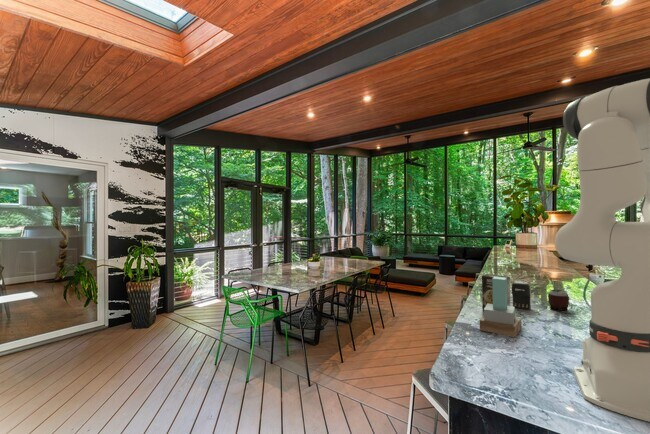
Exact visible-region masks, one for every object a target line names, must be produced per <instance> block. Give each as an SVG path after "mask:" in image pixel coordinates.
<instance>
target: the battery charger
mask: <svg viewBox="0 0 650 434" xmlns="http://www.w3.org/2000/svg"><path fill="white" fill-rule="evenodd" d="M531 287H532V286H531V285H530V283H528V282H522V281H514V282H512V283H511V294H512V295H511V296H512V306H513V307H515V309H519V310H520V309H521V310H531V309H532V305H531V303H532V302H531V301H532V300H531V299H532V292H531V291H532V290H531V289H532V288H531Z"/></svg>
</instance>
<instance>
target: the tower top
mask: <svg viewBox="0 0 650 434" xmlns="http://www.w3.org/2000/svg"><path fill="white" fill-rule="evenodd" d="M483 317H484V320H485V321H491V322H498V323H504V324H511V325H514V321H515V318H516V308H515V307H513V305H510V306H507V309H506V311H505V310H499V309H493V304H489V303H487V305H486V306H485V308H484V314H483Z"/></svg>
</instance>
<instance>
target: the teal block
mask: <svg viewBox="0 0 650 434" xmlns="http://www.w3.org/2000/svg"><path fill="white" fill-rule="evenodd" d="M492 285H493V309H499V310H505V311H506V309H507V278H504V277H493V278H492Z"/></svg>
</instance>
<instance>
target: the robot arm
mask: <svg viewBox="0 0 650 434" xmlns="http://www.w3.org/2000/svg"><path fill="white" fill-rule="evenodd" d="M562 124H563V127H564V130H565V132H567V134H568V135H569V136H571V138H573V139H576V141H577V149H576V152H577V155H576V157H577V158H576V159H577V161H576V162H577V169H578V177H579V178H578V179H579V186H580V187H579V188H580V190H579V191H580V200H579V205H578V209H577V210H576V213H575V214H574V216H573V217H572V219H570V220H569V221H568V222H567V223H566V224H564V225H563V226H561V227H560V228H559V229H558V231H557V232H556V234H555V237H554V247H555V249H556V252H557V253H558V254H559V256H561V258H563V260H568V261H569V262H570V261H571V262H575V263H579V264H583V265H591V266H602V267H609V268H610V267H612V268H619V269H621V273H620V276H619V277H618V278H617V279H612V280H609V281H608V280H607V281H605V282H602V283H599V284H597V285H596V286H594V288H593V289H592V290H591V292H590V313H591V319H589V322H588V323H589V325H588V330H589V337H588V338H586V339H584V340H582V360H580V362H581V365H582V366H573V370H572V372H573V374H574V377H575V379H576V381H577V384H578V387H579V389H580V392H581V394H582V397H583V399H585V400H586V401H589V402H590V403H592V404H594V405H597V406H599V407H602V408H603V409H606V410H609V411H612V412H615V413H618V414H621V415H624V416H628V417H631V418H635V419H638V420H641V421H645V422H649V423H650V77H649V78H644V79H640V80H636V81H631V82H627V83H624V84H621V85H614V86H611V87H608V88H605V89H602V90H600V91H598V92H595V93H593V94H590V95H588V96H582V97H580V98H578V99H576V100H573V101H572V102H570V103H569V104H568V105H567V107H566V108H565V110H564V112H563V116H562ZM641 200H642V201H641ZM640 201H641V204H640V209H639V210H640V212H641V216H642V218H643V221H617V220H616V213H617V212H619V211H621V210H624V209H625V208H628V207H630V206H633V205H635V204H637V203H638V202H640Z"/></svg>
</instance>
